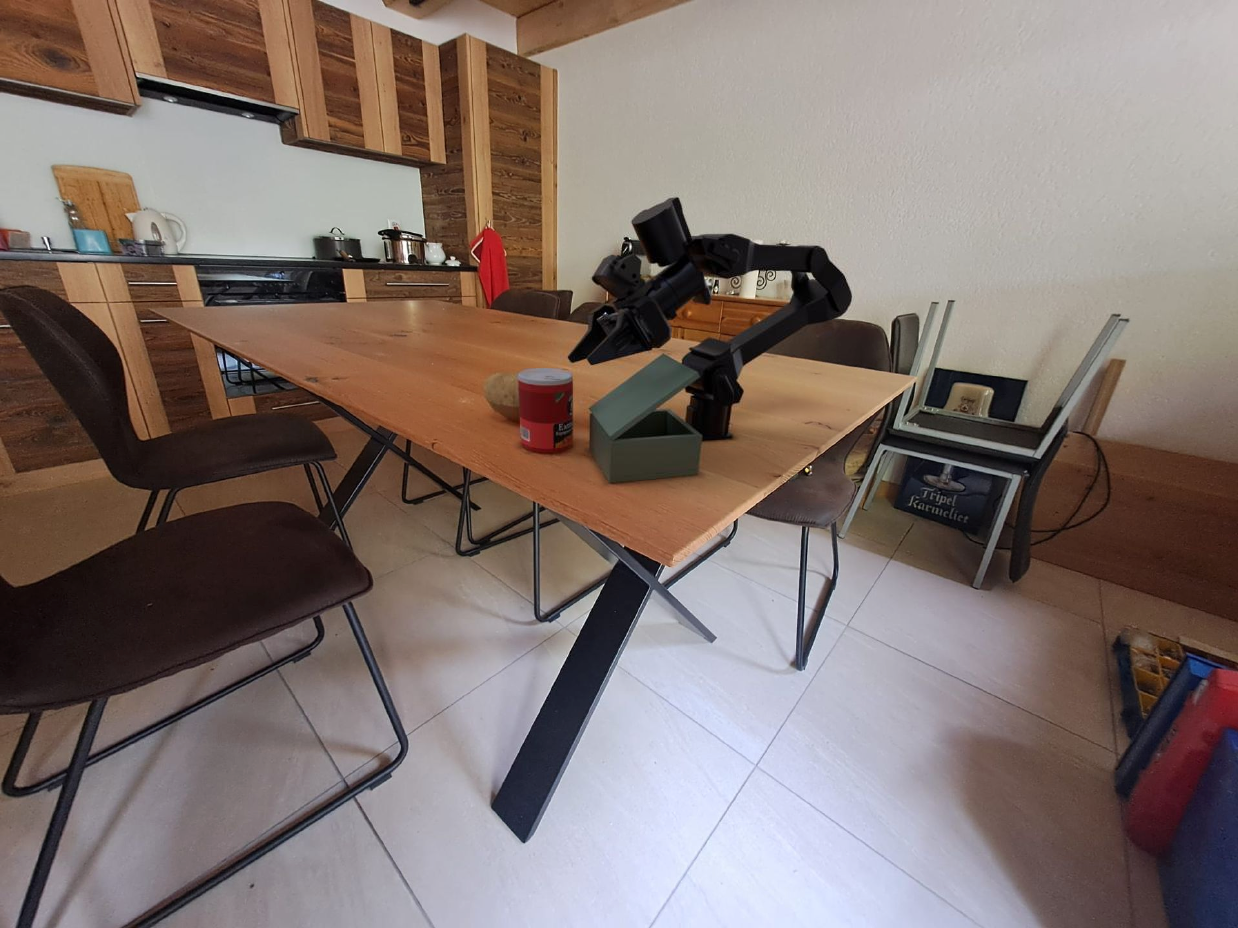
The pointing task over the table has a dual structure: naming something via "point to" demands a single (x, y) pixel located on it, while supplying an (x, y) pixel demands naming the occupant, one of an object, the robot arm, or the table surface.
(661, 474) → the chest
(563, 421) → the canned food
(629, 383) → the lid
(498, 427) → the table surface
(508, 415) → the potato
